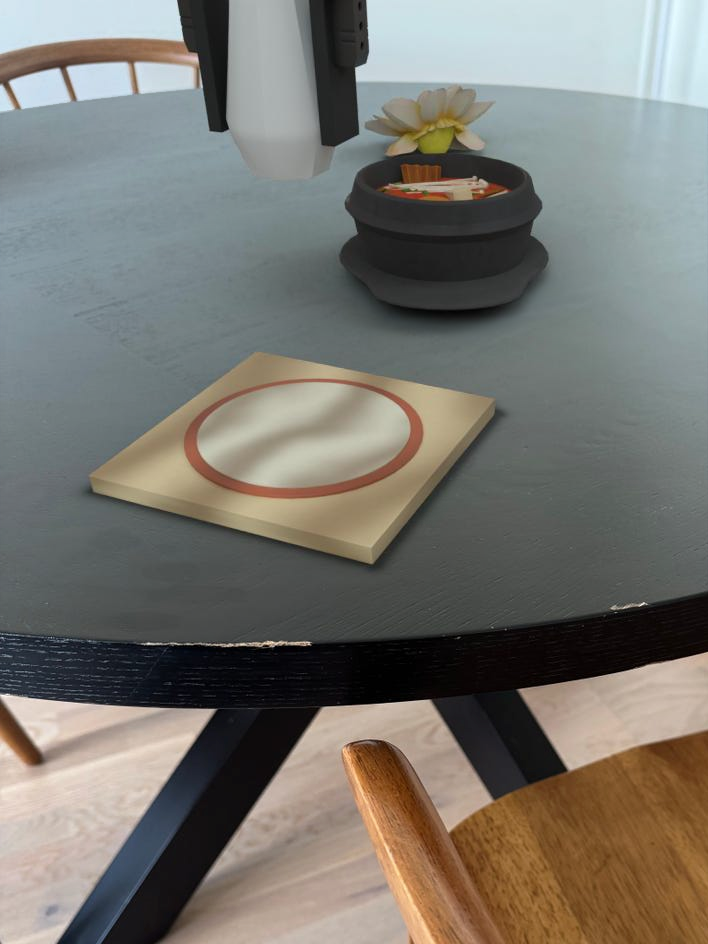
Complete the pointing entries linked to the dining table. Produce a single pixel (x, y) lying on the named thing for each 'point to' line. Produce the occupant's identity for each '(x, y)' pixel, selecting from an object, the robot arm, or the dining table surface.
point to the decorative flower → (431, 121)
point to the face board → (301, 454)
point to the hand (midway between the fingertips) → (284, 131)
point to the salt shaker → (274, 90)
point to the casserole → (444, 231)
